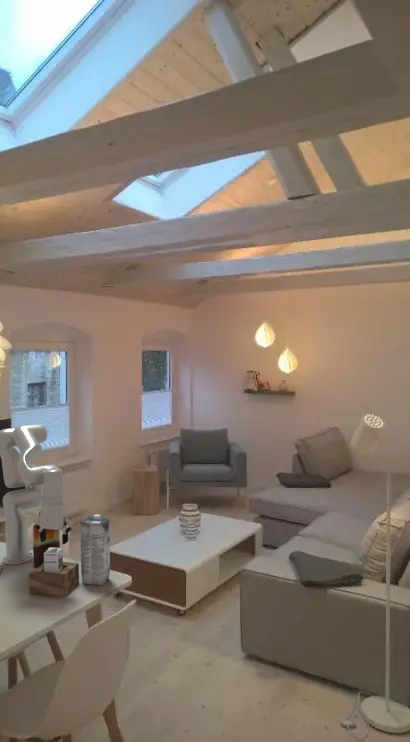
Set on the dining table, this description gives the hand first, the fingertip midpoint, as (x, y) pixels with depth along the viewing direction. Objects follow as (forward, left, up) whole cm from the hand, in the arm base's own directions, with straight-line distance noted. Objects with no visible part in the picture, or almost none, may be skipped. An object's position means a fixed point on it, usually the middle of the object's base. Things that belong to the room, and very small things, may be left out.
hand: (54, 542), depth 218 cm
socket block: (0, 0, -19) cm, 19 cm away
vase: (-14, -12, -19) cm, 27 cm away
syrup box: (0, 0, -18) cm, 18 cm away
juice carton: (-10, +13, -19) cm, 25 cm away
